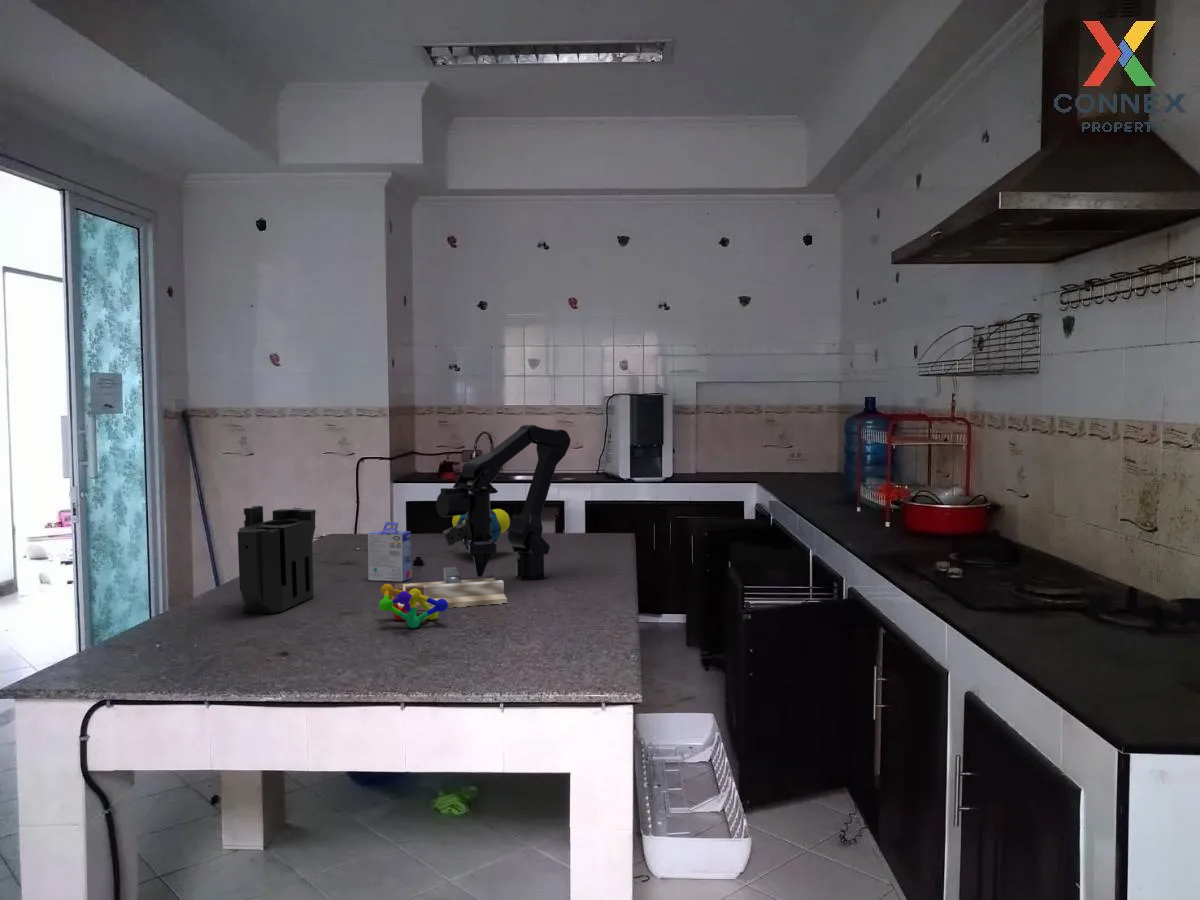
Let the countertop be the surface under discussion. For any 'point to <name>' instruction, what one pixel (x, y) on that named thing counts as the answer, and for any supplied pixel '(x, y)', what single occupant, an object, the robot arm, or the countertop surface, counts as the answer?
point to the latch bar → (451, 575)
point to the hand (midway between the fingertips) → (479, 576)
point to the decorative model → (409, 600)
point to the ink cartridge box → (389, 554)
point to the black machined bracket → (276, 559)
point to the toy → (497, 525)
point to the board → (462, 599)
